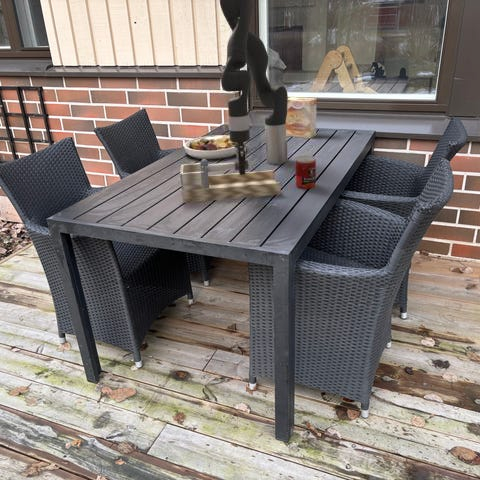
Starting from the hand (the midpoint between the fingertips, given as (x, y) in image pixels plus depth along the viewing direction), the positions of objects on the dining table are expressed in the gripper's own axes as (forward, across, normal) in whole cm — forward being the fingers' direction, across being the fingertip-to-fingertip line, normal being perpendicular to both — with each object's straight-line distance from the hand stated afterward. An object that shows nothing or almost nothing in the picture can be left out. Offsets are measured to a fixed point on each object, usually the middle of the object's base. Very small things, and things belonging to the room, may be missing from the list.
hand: (241, 172), depth 183 cm
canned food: (+7, -1, -24) cm, 26 cm away
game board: (+7, 0, +5) cm, 9 cm away
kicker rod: (+5, 0, +6) cm, 8 cm away
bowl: (+8, +59, +8) cm, 60 cm away
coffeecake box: (+8, +77, -38) cm, 86 cm away
